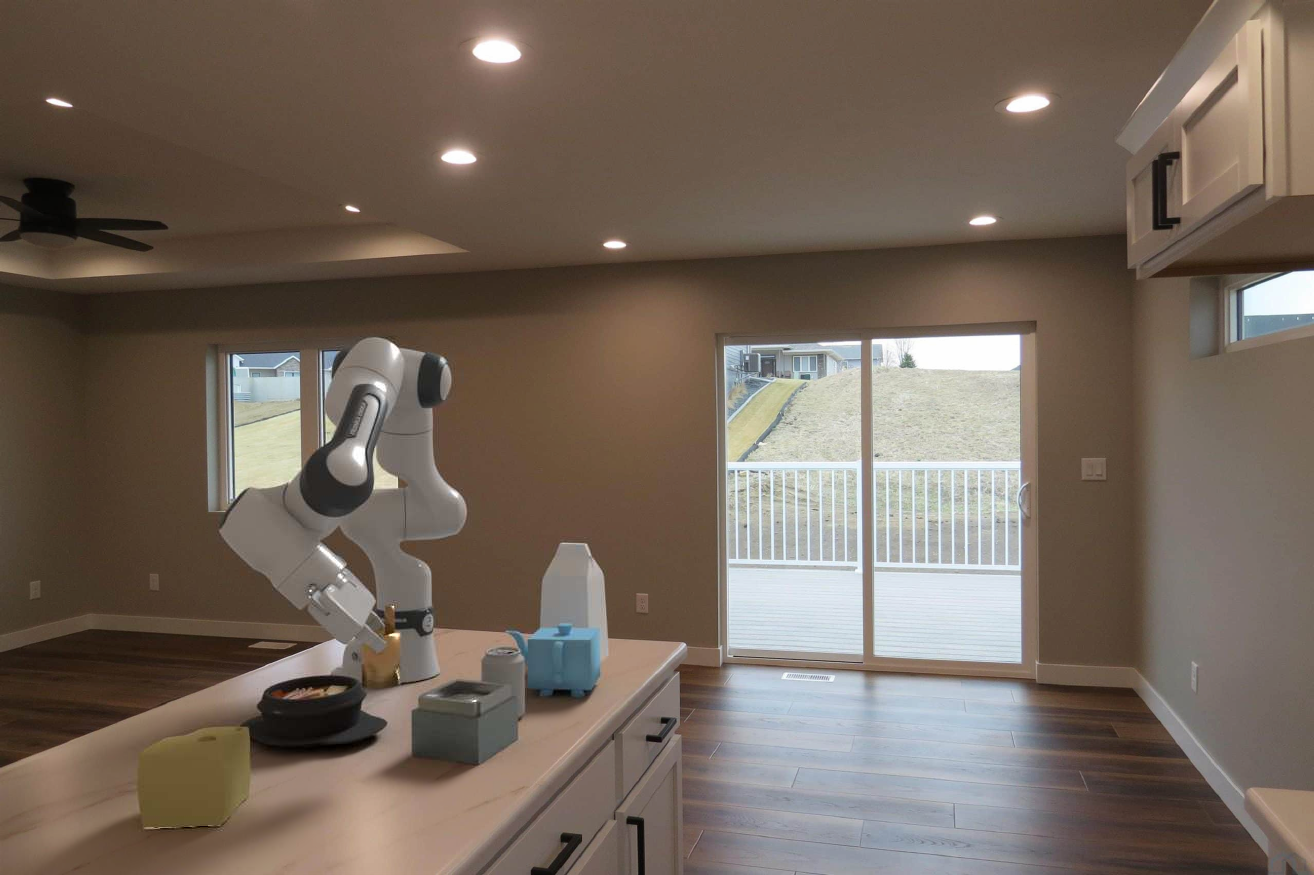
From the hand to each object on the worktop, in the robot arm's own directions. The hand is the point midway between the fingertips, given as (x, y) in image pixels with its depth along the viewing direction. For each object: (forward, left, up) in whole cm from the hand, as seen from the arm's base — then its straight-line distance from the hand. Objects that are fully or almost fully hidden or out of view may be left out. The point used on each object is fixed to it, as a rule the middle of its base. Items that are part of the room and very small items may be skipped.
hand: (385, 643), depth 131 cm
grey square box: (+6, +13, -19) cm, 23 cm away
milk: (-1, +67, -19) cm, 69 cm away
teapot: (+4, +46, -19) cm, 50 cm away
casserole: (-21, +9, -19) cm, 30 cm away
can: (+4, +28, -19) cm, 34 cm away
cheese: (-14, -20, -19) cm, 32 cm away
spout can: (-1, 0, -6) cm, 6 cm away
